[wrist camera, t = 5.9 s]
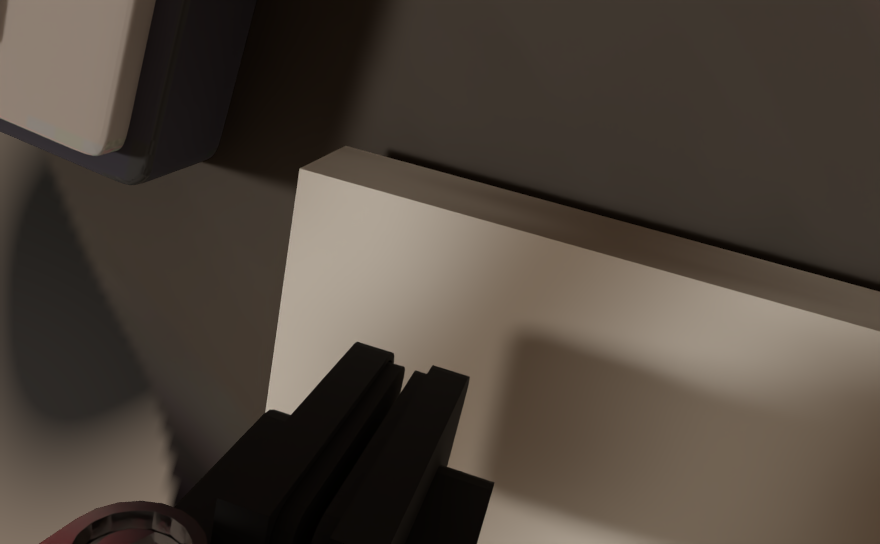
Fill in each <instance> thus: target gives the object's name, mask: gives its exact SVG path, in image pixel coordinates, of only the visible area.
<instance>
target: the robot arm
mask: <svg viewBox="0 0 880 544" xmlns="http://www.w3.org/2000/svg"><path fill="white" fill-rule="evenodd" d="M404 374H405V367H404V366H400V365H397V364H394V353H392V352H389V351H386V350H383V349H380V348H376V347H373V346H370V345H367V344H363V343H360V342H356V343H354V344H353V346H352V347H351V348H350V349H349V350H348V351H347V352H346V353H345V355H344V356H343V357H342V358H341V359H340V360H339V361H338V362H337V364H336V365H335V366H334V367H333V368H332V369H331V370H330V371H329V373H328V374H327V375H326V376H325V377H324V378H323V379H322V380H321V382H320V383H319V384H318V385H317V386H316V387H315V388H314V389H313V391H312V392H311V393H310V394H309V395H308V396H307V397H306V398H305V400H304V401H303V402H302V403H301V404H300V405H299V406H298V407H297V409H296V410H295V411H294V412H293V413H292V414H291V415H290V414H287V413H284V412H281V411H278V410H274V409H273V410H269V411H267V412H266V413H265V414H263V415H262V416H261V417H260V418H259V420H258V421H257V422H256V423H255V424H254V425H253V426H252V427H251V428H250V429H249V430H248V431H247V432H246V433H245V434H244V435H243V436H242V437H241V438H240V439H239V440H238V441H237V442H236V443H235V444H234V446H233V447H232V448H231V449H230V450H229V451H228V452H227V453H226V454H225V455H224V456H223V457H222V458H221V459H220V460H219V461H218V462H217V463H216V464H215V465H214V466H213V467H212V468H211V469H210V470H209V471H208V473H207V474H206V475H205V476H204V477H203V478H202V479H201V480H200V481H199V482H198V483H197V484H196V485H195V486H194V487H193V488H192V489H191V490H190V491H189V492H188V493H187V494H186V495H185V496H184V497H183V498H182V500H181V501H180V502H179V503H178V504H177V505H176V506H175V507H171V506H168V505H165V504H162V503H154V502H145V501H133V502H119V503H115V504H111V505H108V506H104V507H100V508H96V509H94V510H92V511H90V512H88V513H86V514H85V515H83V516H81V517H79V518H77V519H75V520H74V521H72V522H71V523H69V524H68V525H66V526H65V527H63V528H62V529H61V530H59V531H57V532H56V533H54V534H53V535H52V536H50V537H48V538H47V539H46V540H44V541H43V542H41V543H39V544H477V542H478V539H479V535H480V532H481V528H482V525H483V522H484V518H485V515H486V511H487V508H488V504H489V501H490V497H491V494H492V491H493V487H494V483H495V482H492V481H489V480H486V479H483V478H480V477H477V476H474V475H471V474H468V473H465V472H462V471H459V470H456V469H453V468H450V467H447V466H448V462H449V458H450V454H451V450H452V447H453V443H454V439H455V435H456V431H457V428H458V424H459V420H460V416H461V412H462V409H463V405H464V401H465V397H466V393H467V389H468V385H469V380H470V377H469V376H466V375H463V374H460V373H457V372H453V371H450V370H447V369H444V368H441V367H437V366H434V365H432V367H431V368H430V370H429V371H428V373H427V374H426V373H423V372H419V371H416V370H415V371H414V373H413V374H412V376H411V377H410V379H409V380H408V382H407V384H406V385H405V387H404V388H403V390H402V391H401V388H402V384H403V379H404ZM400 392H401V393H400Z"/></svg>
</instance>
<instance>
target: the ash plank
mask: <svg viewBox="0 0 880 544" xmlns="http://www.w3.org/2000/svg"><path fill="white" fill-rule="evenodd" d="M356 342H360V343H363V344H367V345H370V346H373V347H376V348H380V349H383V350H386V351H389V352H392V353H394V364H397V365H400V366H404V367H405V374H404V379H403V384H402V388H401V391H402V390H403V388H404V387H405V385H406V384H407V382H408V380H409V379H410V377H411V376H412V374H413V373H414V371H415V370H416V371H419V372H423V373H426V374H427V373H428V371H429V370H430V368H431V367H432V365H434V366H437V367H441V368H444V369H447V370H450V371H453V372H457V373H460V374H463V375H466V376H469V377H470V380H469V385H468V389H467V393H466V397H465V401H464V405H463V409H462V412H461V416H460V420H459V424H458V428H457V431H456V435H455V439H454V443H453V447H452V450H451V454H450V458H449V462H448V466H447V467H450V468H453V469H456V470H459V471H462V472H465V473H468V474H471V475H474V476H477V477H480V478H483V479H486V480H489V481H492V482H495V483H494V487H493V491H492V494H491V497H490V501H489V504H488V508H487V511H486V515H485V518H484V522H483V525H482V528H481V532H480V535H479V539H478V542H477V544H880V292H879V291H875V290H872V289H868V288H864V287H861V286H857V285H853V284H850V283H846V282H842V281H839V280H835V279H831V278H828V277H824V276H820V275H817V274H813V273H809V272H806V271H802V270H798V269H795V268H791V267H787V266H784V265H780V264H776V263H773V262H769V261H765V260H762V259H758V258H754V257H751V256H747V255H743V254H740V253H736V252H733V251H729V250H725V249H722V248H718V247H714V246H711V245H707V244H703V243H700V242H696V241H692V240H689V239H685V238H681V237H678V236H674V235H670V234H667V233H663V232H659V231H656V230H652V229H648V228H645V227H641V226H637V225H634V224H630V223H626V222H623V221H619V220H615V219H612V218H608V217H604V216H601V215H597V214H593V213H590V212H586V211H582V210H579V209H575V208H571V207H568V206H564V205H560V204H557V203H553V202H550V201H546V200H542V199H539V198H535V197H531V196H528V195H524V194H520V193H517V192H513V191H509V190H506V189H502V188H498V187H495V186H491V185H487V184H484V183H480V182H476V181H473V180H469V179H465V178H462V177H458V176H454V175H451V174H447V173H443V172H440V171H436V170H432V169H429V168H425V167H421V166H418V165H414V164H410V163H407V162H403V161H399V160H396V159H392V158H388V157H385V156H381V155H377V154H374V153H370V152H367V151H363V150H359V149H356V148H352V147H348V146H344V147H342V148H340V149H338V150H336V151H334V152H332V153H330V154H328V155H326V156H324V157H322V158H320V159H318V160H316V161H314V162H312V163H310V164H308V165H306V166H304V167H302V168H300V169H299V176H298V184H297V191H296V198H295V205H294V212H293V219H292V226H291V234H290V241H289V248H288V255H287V262H286V269H285V276H284V283H283V291H282V298H281V305H280V312H279V319H278V326H277V333H276V341H275V348H274V355H273V362H272V369H271V376H270V383H269V391H268V398H267V405H266V412H267V411H269V410H273V409H274V410H278V411H281V412H284V413H287V414H290V415H291V414H292V413H293V412H294V411H295V410H296V409H297V407H298V406H299V405H300V404H301V403H302V402H303V401H304V400H305V398H306V397H307V396H308V395H309V394H310V393H311V392H312V391H313V389H314V388H315V387H316V386H317V385H318V384H319V383H320V382H321V380H322V379H323V378H324V377H325V376H326V375H327V374H328V373H329V371H330V370H331V369H332V368H333V367H334V366H335V365H336V364H337V362H338V361H339V360H340V359H341V358H342V357H343V356H344V355H345V353H346V352H347V351H348V350H349V349H350V348H351V347H352V346H353V344H354V343H356ZM400 393H401V392H400ZM266 412H265V413H266Z"/></svg>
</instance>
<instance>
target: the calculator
mask: <svg viewBox="0 0 880 544" xmlns="http://www.w3.org/2000/svg"><path fill="white" fill-rule="evenodd" d="M256 1H257V0H0V132H3V133H5V134H8V135H10V136H12V137H14V138H17V139H19V140H21V141H24V142H26V143H29V144H31V145H33V146H36V147H38V148H40V149H43V150H45V151H47V152H50V153H52V154H54V155H57V156H59V157H61V158H64V159H66V160H68V161H71V162H73V163H75V164H78V165H80V166H82V167H85V168H87V169H89V170H92V171H94V172H96V173H99V174H101V175H103V176H106V177H108V178H111V179H113V180H115V181H118V182H121V183H124V184H128V185H136V184H140V183H144V182H147V181H150V180H153V179H155V178H158V177H161V176H164V175H166V174H169V173H172V172H175V171H177V170H180V169H183V168H186V167H188V166H191V165H194V164H196V163H199V162H202V161H204V160H207V159H209V158H211V157H212V156H213V155H214V154H215V152H216V150H217V148H218V146H219V143H220V139H221V135H222V132H223V128H224V124H225V120H226V116H227V113H228V109H229V105H230V101H231V97H232V93H233V90H234V86H235V82H236V78H237V74H238V70H239V67H240V63H241V59H242V55H243V51H244V47H245V43H246V40H247V36H248V32H249V28H250V24H251V20H252V17H253V13H254V9H255V5H256Z"/></svg>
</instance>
